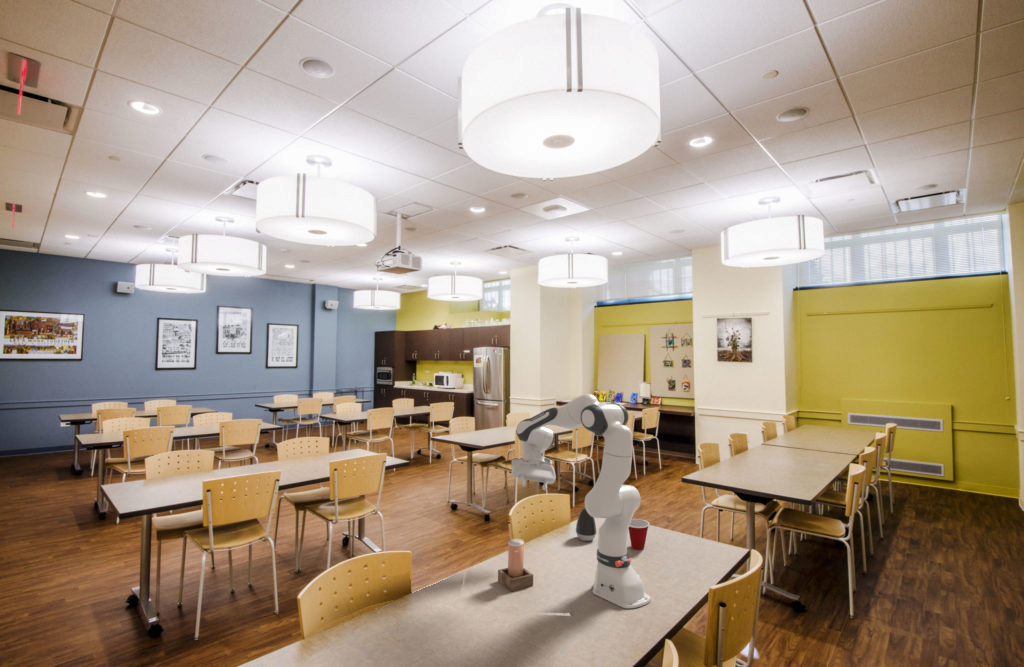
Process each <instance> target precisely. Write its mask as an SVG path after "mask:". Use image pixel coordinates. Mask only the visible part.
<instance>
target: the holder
mask: <svg viewBox="0 0 1024 667" xmlns="http://www.w3.org/2000/svg"><path fill="white" fill-rule="evenodd" d="M497 583H500V584H501V585H502V586H503V587H504V588H506V589H507V590H508V591H509V592H510V593H512V592H516V591H519V590H523V589H528V588H530V587H533V586H534V574H533V573H531V572H530V571H529V570H527V569H526V568H524V567H523V576H521V577H517V578H513V579H512V578H511V577H509V576H508V567H505V568H500V569H498V570H497Z"/></svg>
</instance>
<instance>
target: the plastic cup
mask: <svg viewBox="0 0 1024 667" xmlns="http://www.w3.org/2000/svg"><path fill="white" fill-rule="evenodd" d="M649 526H650V523H649V521H647V520H645V519H640V518H632V519H631V522H630V525H629V529H628V533H629V534H628V535H629V539H630V545H631V549H634V550H639V551H641V550H644V549H645V545H646V541H647V540H646V539H647V536H648V535H647V534H648V529H649Z"/></svg>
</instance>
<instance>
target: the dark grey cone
mask: <svg viewBox="0 0 1024 667" xmlns="http://www.w3.org/2000/svg"><path fill="white" fill-rule="evenodd" d="M580 510H581V511H580V512H579V515H578V516H577V521H576V526H575V533H576V536H577V538H578V539H579V540H581V541H583V542H590V541H593V540H594V539H595V537H596V535H597V525H596V524H597V523H596V520H595V519H596V518H594V517H592V516H590V515H589V514H588V512H587V511H586V508H585V507H584V508H582V509H580Z"/></svg>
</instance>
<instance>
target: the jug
mask: <svg viewBox="0 0 1024 667" xmlns="http://www.w3.org/2000/svg"><path fill="white" fill-rule="evenodd" d="M507 543H508V550H507V552H508V554H507V556H508V557H507V559H508V560H507V561H508V562H507V568H508V576H509V577H511V578H512V579H513V578H517V577H521V576H523V568H524V561H525V560H524V556H525V555H524V554H525V553H524V550H525V541H524V540H523V539H522V538H521V539H520V538H511V539H509V540H508V542H507Z"/></svg>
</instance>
